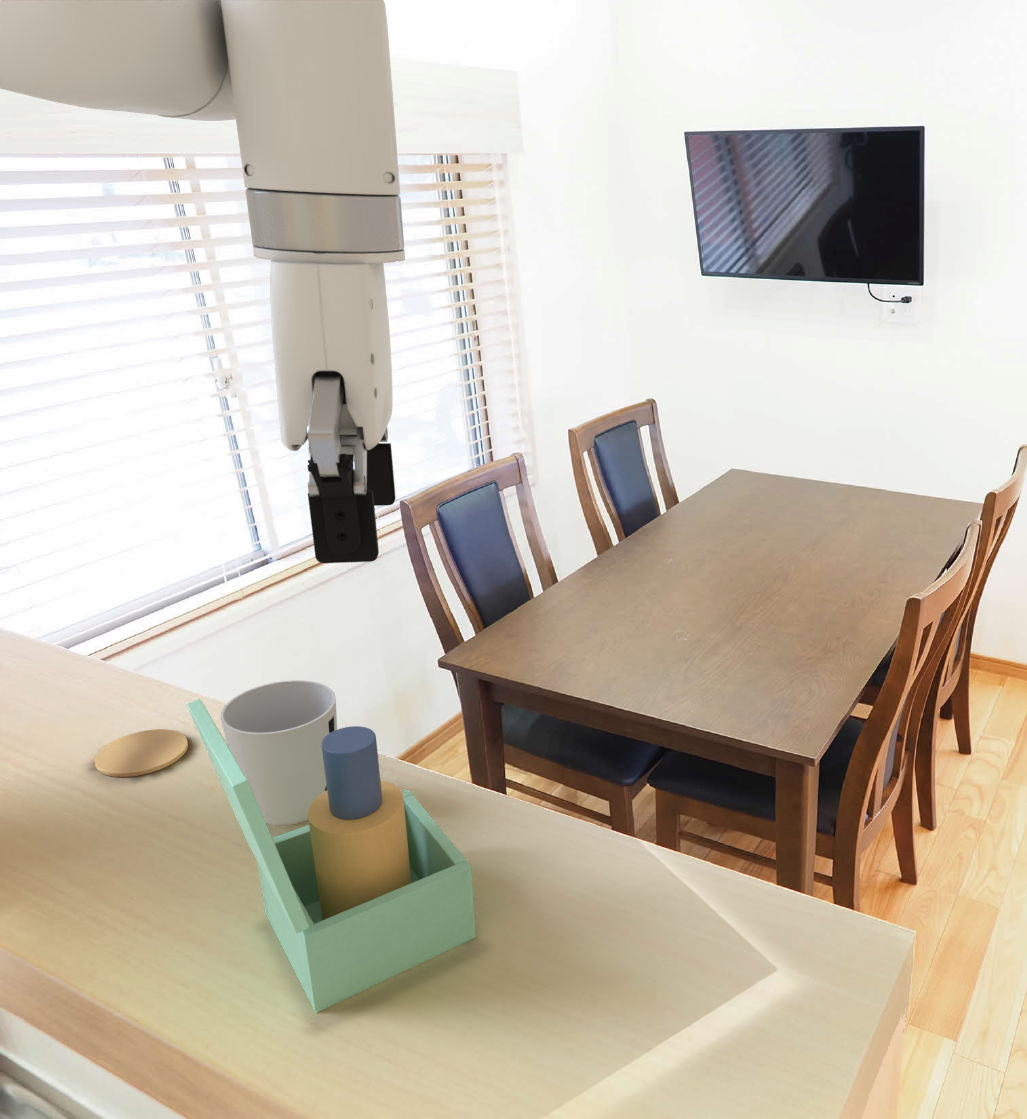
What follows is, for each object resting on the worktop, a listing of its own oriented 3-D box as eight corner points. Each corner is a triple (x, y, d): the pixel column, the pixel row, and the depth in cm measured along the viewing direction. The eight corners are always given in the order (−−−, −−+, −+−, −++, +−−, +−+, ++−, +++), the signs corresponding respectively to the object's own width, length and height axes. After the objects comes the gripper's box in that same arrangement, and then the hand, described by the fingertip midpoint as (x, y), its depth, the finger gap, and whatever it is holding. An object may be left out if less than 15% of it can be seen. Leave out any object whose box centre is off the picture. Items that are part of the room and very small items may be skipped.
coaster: (102, 787, 79) (101, 783, 79) (89, 748, 84) (88, 745, 84) (196, 759, 83) (195, 755, 83) (178, 724, 88) (177, 721, 88)
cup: (356, 825, 76) (343, 718, 73) (244, 855, 72) (224, 744, 69) (339, 773, 83) (326, 672, 79) (234, 798, 79) (216, 693, 75)
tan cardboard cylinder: (341, 970, 62) (316, 776, 56) (312, 919, 66) (286, 733, 60) (428, 931, 65) (411, 745, 60) (395, 884, 69) (377, 706, 64)
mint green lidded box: (415, 863, 73) (408, 788, 70) (476, 945, 65) (472, 866, 63) (266, 923, 66) (253, 843, 64) (316, 1022, 59) (304, 937, 56)
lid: (199, 697, 58) (185, 703, 58) (247, 779, 51) (232, 787, 51) (259, 835, 64) (246, 841, 63) (310, 927, 56) (296, 935, 56)
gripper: (285, 218, 57) (316, 488, 64) (206, 237, 42) (258, 591, 48) (415, 224, 59) (433, 486, 66) (386, 244, 44) (414, 584, 50)
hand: (359, 530), depth 57 cm, fingers open, 9 cm apart
